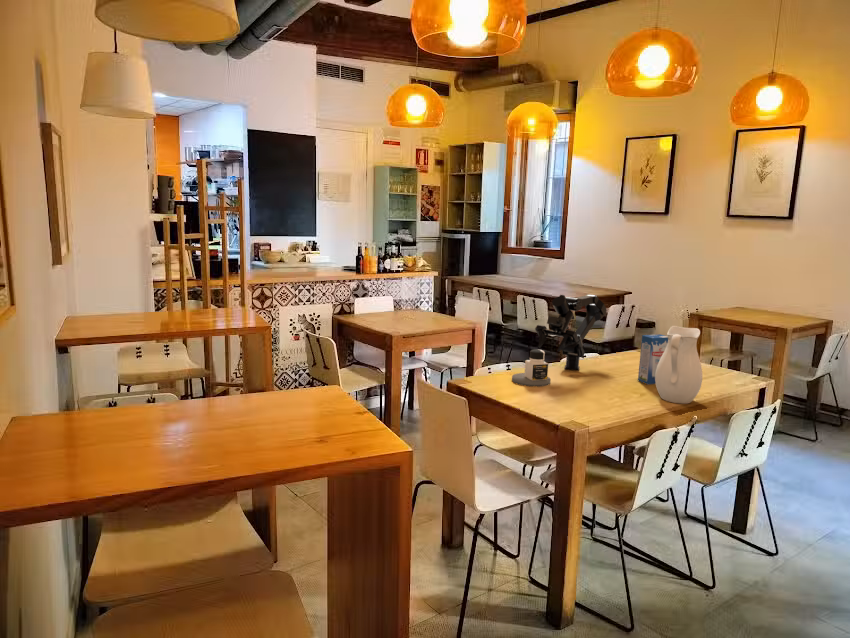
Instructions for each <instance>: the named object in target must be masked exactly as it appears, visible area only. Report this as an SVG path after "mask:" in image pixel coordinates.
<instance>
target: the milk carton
mask: <svg viewBox="0 0 850 638" xmlns="http://www.w3.org/2000/svg"><path fill="white" fill-rule="evenodd" d="M640 343H641V345H640V354H639V363H638V365H639V366H638V375H637V376H638V377H637V381H638V380H639V381H638V382H640V381H641V383H643V382H644V384H645V383H646V385H656V383H655V373H656V368H657V365H658V363H659V360H660V358H661V356H662V355H663V353H664V351H665V349H666V347H667V344H668V336H667V335H664V334H645V335H644V334H643V335H641V342H640Z"/></svg>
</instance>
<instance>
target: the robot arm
mask: <svg viewBox="0 0 850 638" xmlns="http://www.w3.org/2000/svg"><path fill="white" fill-rule="evenodd" d="M551 304H552V306H553V308H554V310H555V313H556V314H558V315H557V316H550V315H548V318H547V320H546V321H547V322H546V324H547V325H548V326H549V329H548V328H547V326H546V325H542V324H537V325H536V326H535V328H534V330H535V332H536V334H537V335H538V338H539V339H538V348H539V349H541V348H542V347H543V345H544V344H545V342H546V340H548V339H547V337H548V336H549V335H551V336H556V337H561V338H562V340H561V342H560V344H559V346H558V347H557V350H556V351H557V352H561V353H562V355H565V356H566V360H565V365H564V370H569V371H580V366H579V365H580V358H584V355H585V350H584V348H583V346H584V345H583V341H584V339H585V338H586V337H587V336H588V335H587V334H588V333H589V332H590V330H591V329H592V328H593V326H594V324H595V323H596V322H598V321H600V320H602V319H603V317H605V315H606V314H607V308H606V305H605V303H604V302H603V301H602V300H600V298H599V297H598V295H594V294H586V295H583V296H579V297H569V296H565V295H564V294H560V295H559V296H556V297H555V298H553V299H552V301H551ZM582 307H584V308H585V311H586V316H585V317H584V318H583V320H582V322H581V323H580V324H579V325H578V327H577V329H576V330H572V329H570V327H569V325H570V323H571V321H572V320H575V315H574V313H573V312H578V311H580V310H582Z"/></svg>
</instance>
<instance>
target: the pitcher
mask: <svg viewBox="0 0 850 638" xmlns="http://www.w3.org/2000/svg"><path fill="white" fill-rule="evenodd" d="M700 335H701V330H700V329H699V328H697V327H683V326H679V325H671V326H670V327H669V329H668V330H667V333H666V336H668V344H667V347H666V349H665V351H664V353H663V355H662V356H661V358H660V360H659V363H658V365H657V368H656V373H655V383H656V384H655V387H656V390H657V392H658V394H659V396H660V398H661V399H662V400H664V401H666V402H670V403H673V404H683V405H684V404H690V403H691V402H693V400H694V399H695V398H696V397H697V396H698V394H699V393H700V390H701V387H702V383H703V368H702V363H701V360H700V357H699V356H700V355H699V353H698V349H697V344H698V343H697V342H698V339H699V338H700Z"/></svg>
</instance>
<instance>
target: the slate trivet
mask: <svg viewBox="0 0 850 638" xmlns="http://www.w3.org/2000/svg"><path fill="white" fill-rule="evenodd" d="M524 374H525V372H519V373H514V374H512V375H511V382H513V383H514V384H516V383H517V385H519V384H520V385H519V386H524V385H526V387H533V386H537V387H538V388H539V387H547V386H549V385H551V378H550V377H549V376H547V380H536V381H532V380H530V379H528V378H527V377H525V376H524Z"/></svg>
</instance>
